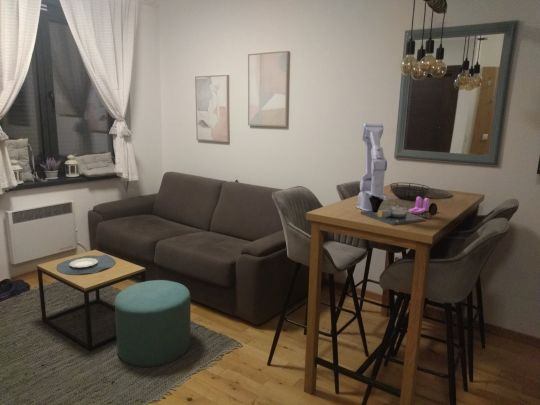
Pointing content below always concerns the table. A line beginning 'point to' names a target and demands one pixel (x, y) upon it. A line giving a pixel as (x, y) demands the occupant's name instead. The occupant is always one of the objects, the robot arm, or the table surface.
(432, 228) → the table surface
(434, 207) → the compass
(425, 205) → the bracket
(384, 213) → the silver disc with handle
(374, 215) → the plate
